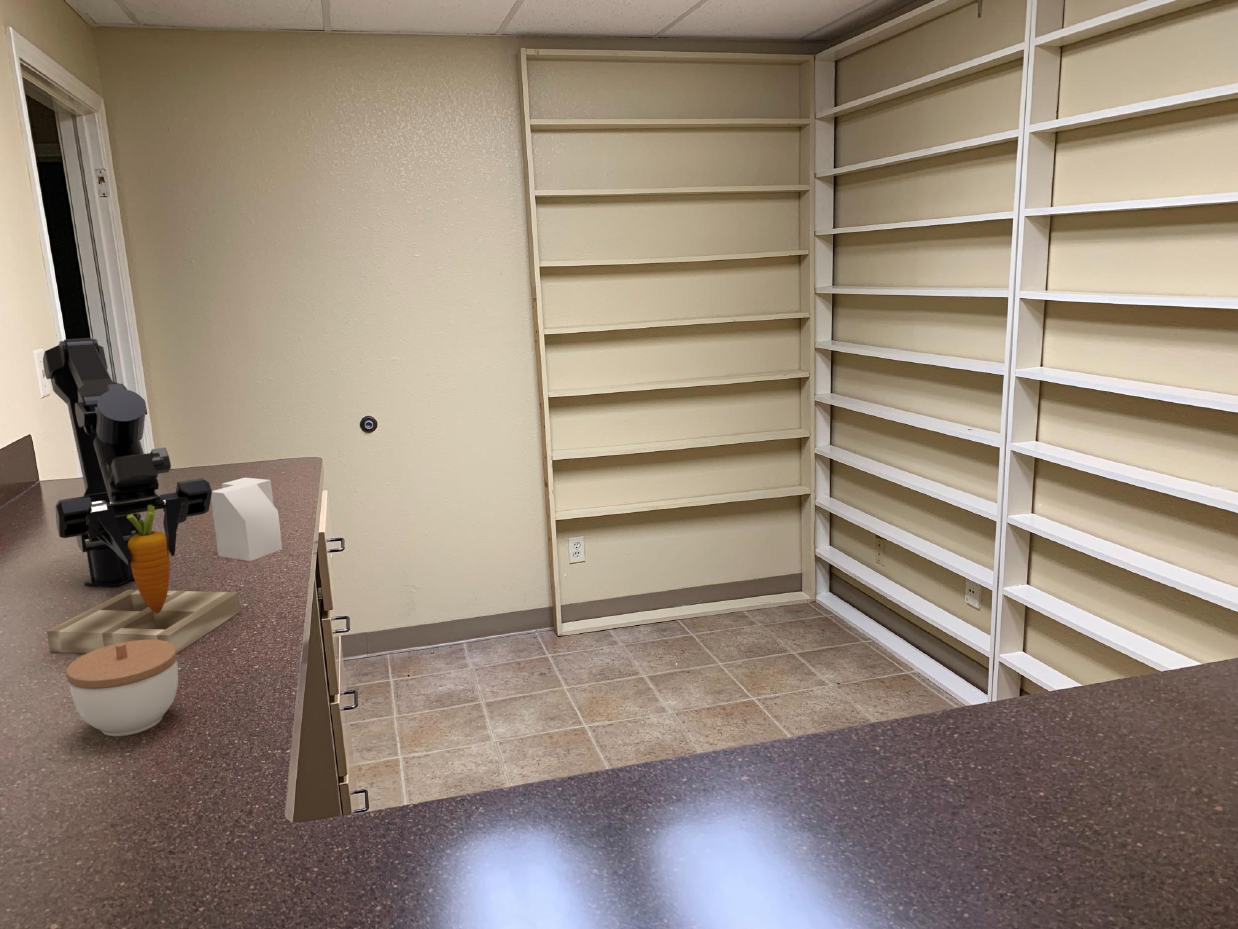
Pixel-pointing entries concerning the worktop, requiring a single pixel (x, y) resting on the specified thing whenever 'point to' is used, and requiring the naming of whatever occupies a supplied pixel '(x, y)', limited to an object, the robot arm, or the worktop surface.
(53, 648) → the socket board
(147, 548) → the carrot
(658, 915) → the worktop surface
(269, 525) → the white angular block
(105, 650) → the lidded jar
